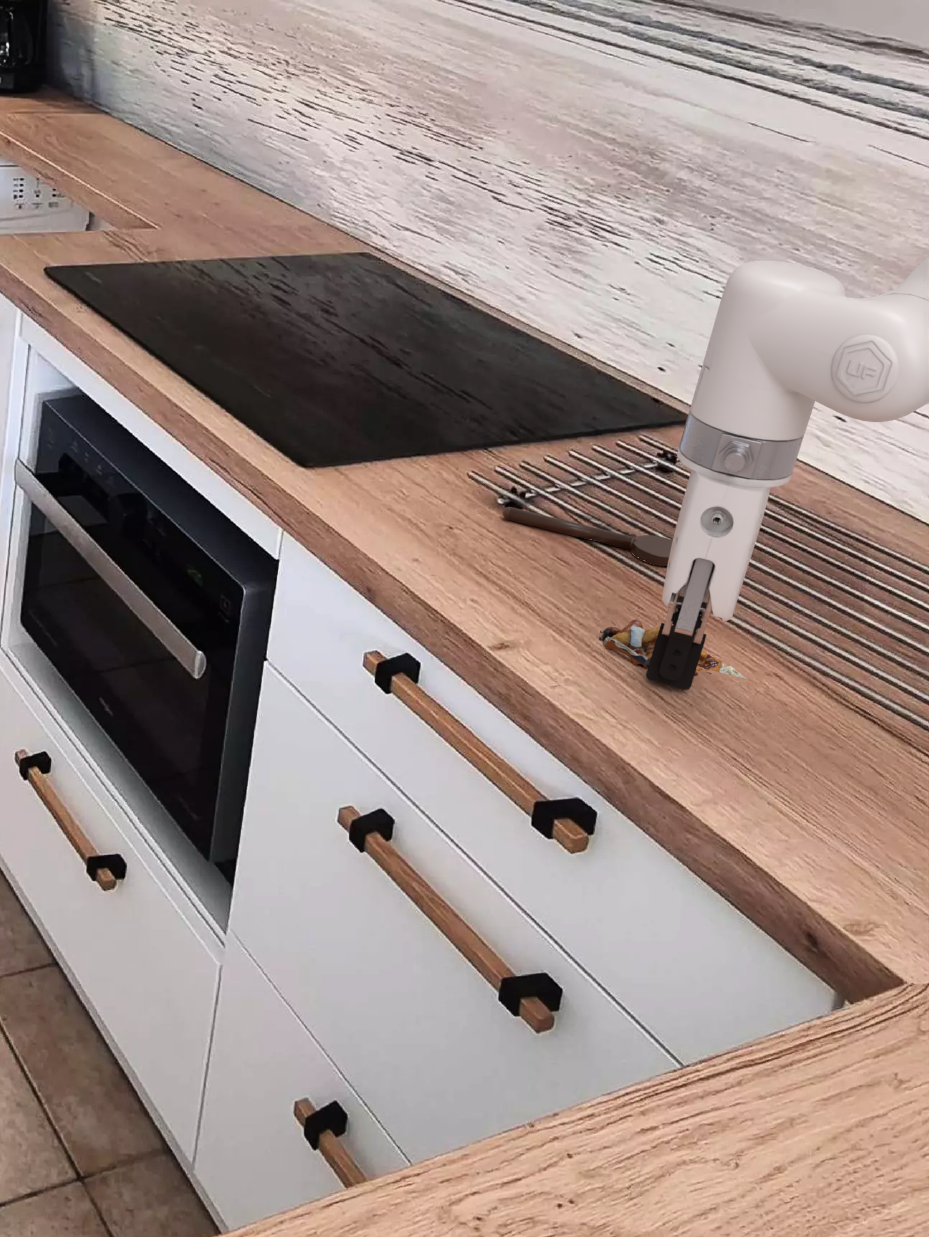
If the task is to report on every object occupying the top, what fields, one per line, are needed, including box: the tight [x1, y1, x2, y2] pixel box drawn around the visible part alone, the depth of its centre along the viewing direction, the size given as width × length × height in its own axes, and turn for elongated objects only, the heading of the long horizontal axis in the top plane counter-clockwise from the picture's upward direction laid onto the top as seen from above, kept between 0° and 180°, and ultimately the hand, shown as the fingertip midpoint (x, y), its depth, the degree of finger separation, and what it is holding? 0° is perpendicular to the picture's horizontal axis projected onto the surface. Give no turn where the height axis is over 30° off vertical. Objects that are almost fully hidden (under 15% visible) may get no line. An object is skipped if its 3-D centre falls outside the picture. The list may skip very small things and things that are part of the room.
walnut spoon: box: [502, 506, 673, 567], centre depth 152 cm, size 16×5×1 cm, turn 66°
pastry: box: [598, 618, 748, 681], centre depth 129 cm, size 7×12×4 cm, turn 73°
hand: (668, 680), depth 124 cm, fingers closed
